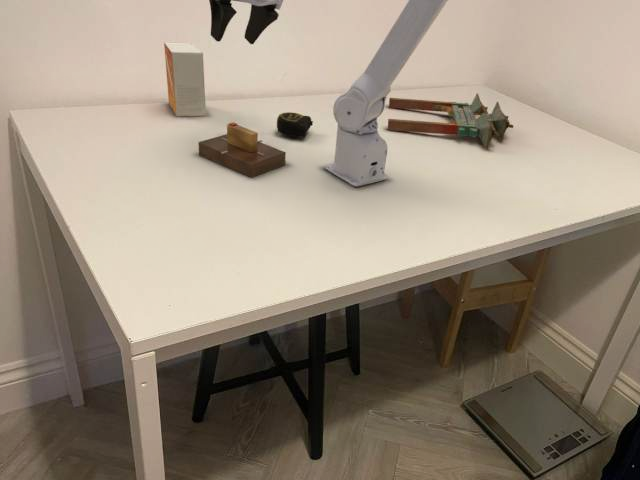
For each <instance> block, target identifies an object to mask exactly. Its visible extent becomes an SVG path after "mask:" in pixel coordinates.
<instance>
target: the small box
mask: <svg viewBox="0 0 640 480" xmlns="http://www.w3.org/2000/svg"><path fill="white" fill-rule="evenodd" d="M163 46H164V58H165V73H166V84H167V97H168V98H167V99H168V105H169V106H170V108H171V109H172V110H173V113H174V114H175V116H176V117H201V116H202V117H203V116H204V117H205V116H207V109H206V108H207V105H206V86H205V70H204V69H205V68H204V53H203V51H202V50H201V48H199V47H198V46H197V45H196V44H195V42H172V41H169V42H167V41H166V42H163Z"/></svg>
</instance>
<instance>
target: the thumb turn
mask: <svg viewBox="0 0 640 480" xmlns="http://www.w3.org/2000/svg"><path fill="white" fill-rule="evenodd" d="M226 134H227V143H229V144H231V145H234V146H236V147H239V148H241V149H244V150H246V151H249V152H251V153H252V152H255V151H258V141H259V140H258V139H259V132H257V131H254V130H252V129H249V128H247V127H244V126H242V125H239V124H238V123H236V122H234V121H233V122H229V123H227V124H226Z"/></svg>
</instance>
